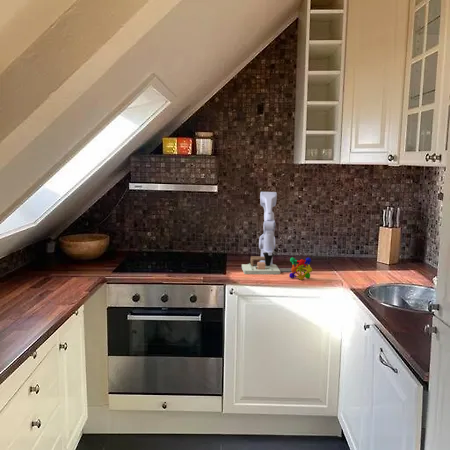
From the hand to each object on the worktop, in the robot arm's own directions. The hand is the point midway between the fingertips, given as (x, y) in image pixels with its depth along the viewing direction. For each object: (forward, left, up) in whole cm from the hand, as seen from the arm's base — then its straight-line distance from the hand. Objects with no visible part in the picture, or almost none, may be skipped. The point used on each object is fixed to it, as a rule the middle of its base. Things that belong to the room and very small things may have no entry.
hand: (267, 265), depth 274 cm
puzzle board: (+1, -4, -3) cm, 5 cm away
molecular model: (+19, +15, -3) cm, 24 cm away
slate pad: (0, +11, -3) cm, 11 cm away
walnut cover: (-5, -4, -1) cm, 7 cm away
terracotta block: (+3, -4, -3) cm, 6 cm away
